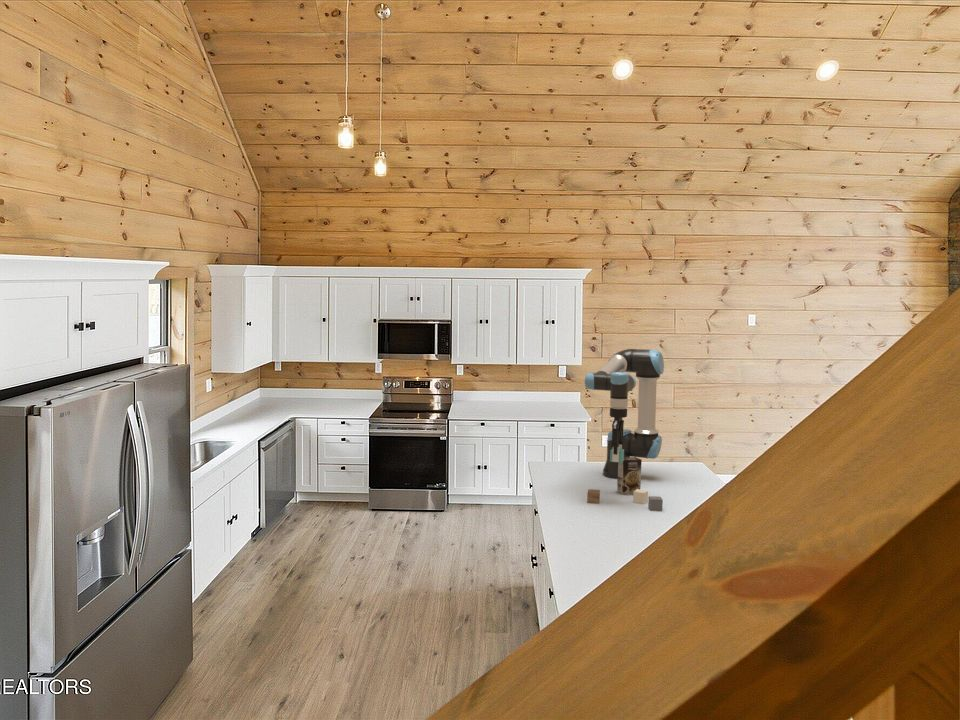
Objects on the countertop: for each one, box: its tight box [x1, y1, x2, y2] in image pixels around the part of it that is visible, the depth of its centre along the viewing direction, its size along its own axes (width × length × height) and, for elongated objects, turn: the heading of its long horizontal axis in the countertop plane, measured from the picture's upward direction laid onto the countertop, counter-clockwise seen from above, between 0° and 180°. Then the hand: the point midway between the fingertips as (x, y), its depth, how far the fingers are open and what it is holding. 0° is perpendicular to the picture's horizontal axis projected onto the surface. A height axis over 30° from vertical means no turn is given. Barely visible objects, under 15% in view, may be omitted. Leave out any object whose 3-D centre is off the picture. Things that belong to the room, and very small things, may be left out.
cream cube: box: [632, 488, 649, 505], centre depth 341 cm, size 5×5×5 cm
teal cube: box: [610, 449, 624, 463], centre depth 339 cm, size 5×5×5 cm
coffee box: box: [616, 456, 643, 495], centre depth 357 cm, size 9×6×16 cm
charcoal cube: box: [647, 495, 664, 512], centre depth 330 cm, size 5×5×5 cm
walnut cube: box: [586, 488, 601, 505], centre depth 340 cm, size 5×5×5 cm
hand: (616, 460), depth 339 cm, fingers closed on teal cube, 5 cm apart
